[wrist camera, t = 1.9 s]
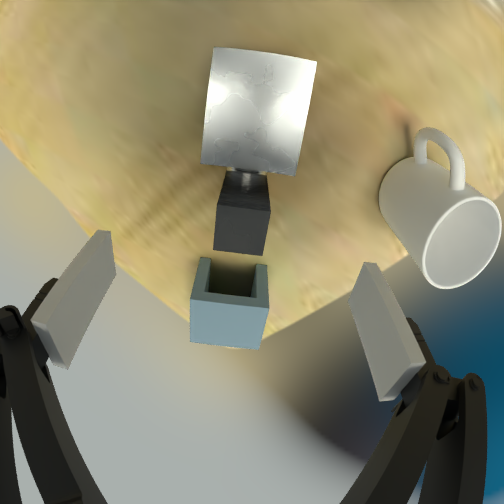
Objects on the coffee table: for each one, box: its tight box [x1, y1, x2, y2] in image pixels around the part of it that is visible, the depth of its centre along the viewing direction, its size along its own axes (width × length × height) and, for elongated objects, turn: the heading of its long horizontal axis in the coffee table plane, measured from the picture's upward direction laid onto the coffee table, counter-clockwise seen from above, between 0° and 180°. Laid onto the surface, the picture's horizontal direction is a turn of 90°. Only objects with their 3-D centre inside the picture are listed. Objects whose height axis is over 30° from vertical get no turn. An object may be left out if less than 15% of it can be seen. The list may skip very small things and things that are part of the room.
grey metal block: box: [200, 47, 317, 176], centre depth 20 cm, size 8×6×6 cm
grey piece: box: [213, 167, 271, 256], centre depth 19 cm, size 15×3×9 cm, turn 172°
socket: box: [190, 257, 269, 349], centre depth 30 cm, size 6×7×6 cm
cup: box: [379, 127, 502, 289], centre depth 21 cm, size 8×12×10 cm
